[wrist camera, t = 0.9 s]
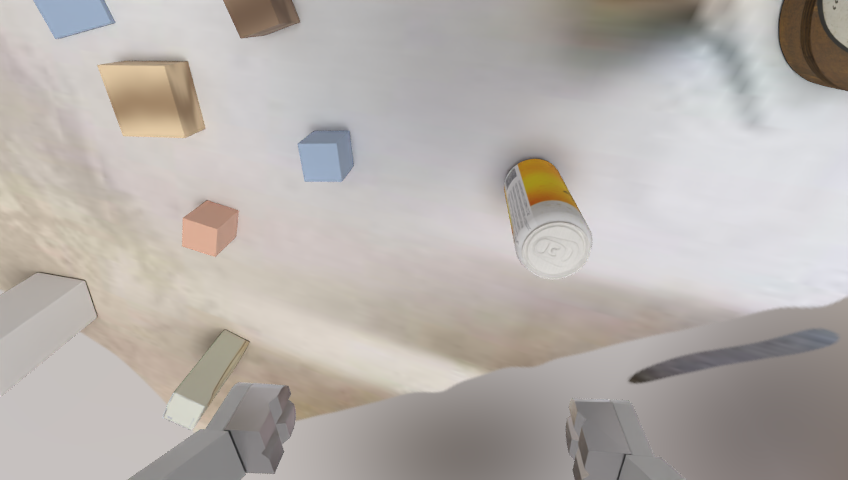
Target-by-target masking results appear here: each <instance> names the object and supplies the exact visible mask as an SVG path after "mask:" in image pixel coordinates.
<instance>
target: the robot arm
mask: <svg viewBox="0 0 848 480" xmlns="http://www.w3.org/2000/svg"><path fill="white" fill-rule="evenodd" d="M290 395H291V392H290V389H289V386H285V385H273V384H259V383H242V382H238V383H237V384H235V385H234V386H233V387H232V389H231V390H230V392H229V393H228V395H227V396H226V398H225V399H224V401H223V403H222V404H221V406H220V407H219V409H218V410H217V412H216V413H215V415H214V416H213V418H212V420H211V421H210V423H209V424H208V426H207V427H206V429H200V430H199V431H197V432H196V433H194V434H193V435H191V436H190V437H188V438H187V439H186V440H184V441H183V442H181V443H180V444H178V445H177V446H176V447H174V448H173V449H171V450H170V451H168V452H167V453H165V454H164V455H162V456H161V457H160V458H158V459H157V460H155V461H154V462H152V463H151V464H150V465H148V466H147V467H145V468H144V469H142V470H141V471H140V472H138V473H136V474H135V475H134V476H132V477H131V478H129V479H128V480H241V479H242V478H243V477H244V476H245V475H246V474H245V473H265V474H266V473H267V474H275V471H276V469H277V467H278V464H279V462H280V460H281V458H282V455H283V453H284V450H283V447H282V444H283V443H284V442H285V441H287V440H288V439H289V438H290V437H291V434H292V431H293V429H294V425H295V420H296V410H295V406H294V404H293V403H292V402H291V401H290V400H288V399H289V397H290ZM569 410H570V414H571V415H570V416H569V417H568V418H567V421H566V441H567V448H568V452H569V455H570V456H571V457H572V458H573V459H574V460H575V461H574V466H573V474H574V478H575V480H686V479H685V478H684V477H683V476H682V475H681V474H680V473H679V472H677V471H676V470H675V469H674V468H673V467H672V466H671V465H670V464H668V463H667V462H666V461H665V460H664V459H663V458H662V457H657V456H654V453H653V451H652V449H651V446H650V444H649V442H648V439H647V437H646V435H645V432H644V430H643V428H642V425H641V423H640V421H639V419H638V416H637V414H636V411H635V409H634V407H633V405H632V403H631V402H630V401H628V400H608V399H585V398H583V399H582V398H572V399H571V401H570V404H569Z"/></svg>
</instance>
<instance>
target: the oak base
mask: <svg viewBox="0 0 848 480" xmlns="http://www.w3.org/2000/svg"><path fill="white" fill-rule="evenodd" d="M97 66H98V68H99V71H100V74H101V77H102V79H103V82H104V85H105V88H106V90H107V93H108V96H109V98H110V101H111V104H112V107H113V109H114V112H115V115H116V118H117V120H118V123H119V126H120V129H121V131H122V134H123V136H136V137H171V138H186V137H188V136H191V135H193V134H195V133H197V132H199V131H202V130H204V129H205V125H204V121H203V117H202V113H201V110H200V106H199V102H198V98H197V94H196V91H195V87H194V83H193V79H192V75H191V72H190V68H189V64H188V62H187V61H121V62H114V63H108V64H101V65H97Z"/></svg>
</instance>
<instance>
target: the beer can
mask: <svg viewBox="0 0 848 480" xmlns="http://www.w3.org/2000/svg"><path fill="white" fill-rule="evenodd" d="M504 191H505V197H506V202H507V207H508V213H509V218H510V223H511V228H512V234H513V239H514V244H515V250H516V254H517V257H518V259H519V261H520V262H521V263H522V265H523V266H524V267H526V268H527V269H528V270H529V271H530V272H531V273H533V274H534V275H536V276H538V277H541V278H545V279H562V278H565V277H568V276H571V275H573V274H574V273H576V272H577V271H579V270H580V269H581V268H582V267H583V266H584V265H585V263H586V262H587V260H588V258H589V255H590V250H591V247H592V235H591V231H590V229H589V227H588V225H587V223H586V222H585V220H584V218H583V216H582V214H581V212H580V211H579V209H578V207H577V205H576V203H575V201H574V200H573V198H572V196H571V194H570V192H569V190H568V188H567V187H566V185H565V183H564V181H563V179H562V177H561V176H560V174H559V172H558V170H557V169H556V168H555V166H553V165H552V164H551V163H549V162H548V161H545V160H542V159H528V160H525V161H522V162H520V163H518V164H517V165H515V166H514V167H513V168H512V169H511V170H510V171H509V173H508V175H507V176H506V179H505V183H504Z"/></svg>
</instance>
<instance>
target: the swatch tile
mask: <svg viewBox="0 0 848 480" xmlns="http://www.w3.org/2000/svg"><path fill="white" fill-rule="evenodd" d="M33 1H34V2H35V4H36V6H37V8H38V9H39V11H40V13H41V15H42V16H43V18H44V20H45V22H46V23H47V25H48V27H49V28H50V30H51V32H52V34H53V35H54V37H55V39H60V38H63V37H67V36H70V35H74V34H78V33H81V32H85V31H88V30H92V29H95V28H99V27H102V26H106V25H110V24H113V23H115V21H114V19H113V17H112V15H111V14H110V12H109V10H108V8H107V6H106V4H105V2H104V0H33Z"/></svg>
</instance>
